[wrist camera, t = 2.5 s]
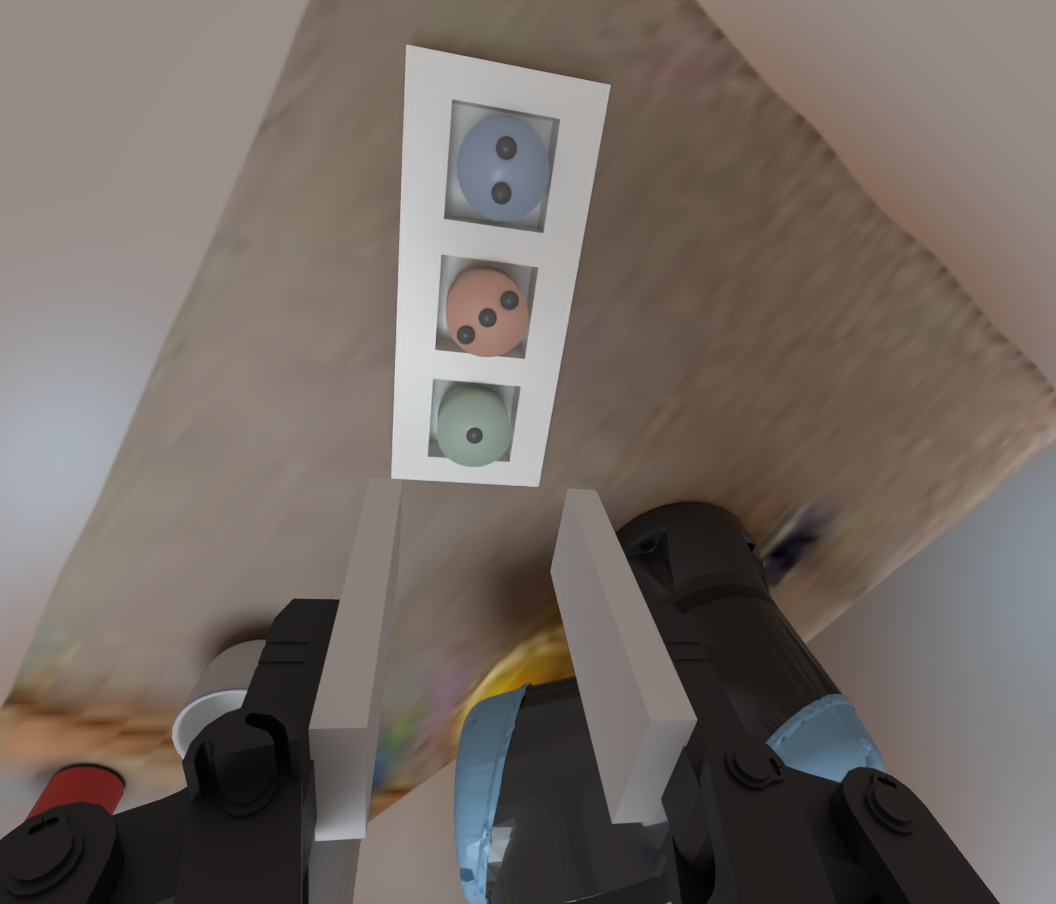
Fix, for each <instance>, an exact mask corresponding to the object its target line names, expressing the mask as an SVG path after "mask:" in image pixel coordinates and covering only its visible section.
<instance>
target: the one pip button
mask: <svg viewBox="0 0 1056 904" xmlns="http://www.w3.org/2000/svg"><path fill="white" fill-rule="evenodd" d="M437 440H438V444H439V447H440V449H441V450H442V452H443V453H444V454H445V456H446V457H447V458H449V459H450V460H451V461H453V462H455V463H457V464H459V465H462V466H466V467H481V466H485V465H488V464H490V463H493V462H494V461H496V460H497V459H499V458H500V457H501V456H502V455H503V454H504V453H505V451H506V450H507V448H508V446H509V443H510V440H511V427H510V423H509V418H508V414H507V409H506V406H505V403H504V401H503V400H502V398H501V397H500V396H499V395H498V394H497V393H496V392H495V391H494V390H492V389H490V388H488V387H486V386H483V385H478V384H467V385H462V386H460V387H457V388H455V389H453V390H452V391H450V392H449V393H448V394H447V395H446V396H445V397H444V398H443V400H442V402H441V404H440V406H439V409H438V420H437Z"/></svg>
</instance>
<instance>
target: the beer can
mask: <svg viewBox="0 0 1056 904" xmlns="http://www.w3.org/2000/svg"><path fill="white" fill-rule="evenodd" d="M122 795H123V784H122V782H121V780H120V779H119V778H118V777H117V776H116V775H115V774H113V773H112V772H110V771H108V770H105V769H102V768H98V767H92V766H80V767H72V768H69V769H66V770H63V771H61V772H59V773H58V774H57V775H55V776H54V777H53V778H52V779H51V780H50V782H49V783H48V785H47V786H46V788H45V790H44V791H43V793H42V794H41V796H40V797H39V799H38V801H37V802H36V804H35V805H34V807H33V808H32V810H31V812H30V813H29V815H28V816H27V818H26V819H25V821H26V820H28V819H29V818H31V817H33V816H35V815H37V814H40V813H42V812H44V811H46V810H48V809H51V808H53V807H55V806H58V805H64V804H69V803H75V802H80V801H83V802H88V803H93V804H98V805H102V806H103V807H104V808H105V809H106V810H107V811H108V812H109V813H110V814H111V815H113V813H114V811H115V809H116V807H117V805H118V803H119V801H120V799H121V797H122ZM25 821H24V822H25Z"/></svg>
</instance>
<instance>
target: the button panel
mask: <svg viewBox="0 0 1056 904" xmlns="http://www.w3.org/2000/svg"><path fill="white" fill-rule="evenodd" d="M610 87H611V85H608V84H603V83H598V82H593V81H588V80H583V79H578V78H573V77H568V76H563V75H558V74H553V73H548V72H543V71H538V70H533V69H528V68H523V67H517V66H512V65H507V64H502V63H497V62H492V61H487V60H482V59H477V58H472V57H467V56H462V55H457V54H452V53H447V52H442V51H437V50H432V49H427V48H421V47H416V46H411V45H406V66H405V95H404V124H403V153H402V183H401V212H400V241H399V270H398V299H397V328H396V357H395V386H394V415H393V444H392V474H391V478H394V479H411V480H428V481H446V482H463V483H481V484H498V485H516V486H533V487H539V481H540V476H541V470H542V465H543V459H544V454H545V448H546V442H547V437H548V431H549V426H550V420H551V415H552V409H553V404H554V398H555V392H556V387H557V381H558V376H559V370H560V365H561V359H562V354H563V348H564V342H565V337H566V331H567V326H568V320H569V315H570V309H571V304H572V298H573V292H574V287H575V281H576V276H577V270H578V265H579V259H580V254H581V248H582V242H583V237H584V231H585V226H586V220H587V215H588V209H589V204H590V198H591V192H592V187H593V181H594V176H595V170H596V165H597V159H598V154H599V148H600V142H601V137H602V131H603V126H604V120H605V115H606V109H607V104H608V98H609V92H610ZM496 117H508V118H513V119H516V120H519V121H521V122H523V123H525V124H526V125H528V126H529V127H530V128H531V129H533V131H534V132H535V133H536V134H537V135H538V136H539V138H540V139H541V141H542V143H543V145H544V147H545V149H546V152H547V156H548V160H549V180H548V185H547V188H546V191H545V193H544V195H543V197H542V199H541V200H540V202H539V203H538V205H537V206H536V207H535V208H534V209H533V210H532V211H531V212H529V213H528V214H527V215H525V216H523V217H521V218H518V219H516V220H511V221H497V220H493V219H490V218H487V217H485V216H483V215H481V214H480V213H479V212H477V211H476V210H475V209H474V208H473V207H472V206H471V205H470V204H469V202H468V201H467V200H466V198H465V196H464V194H463V192H462V190H461V188H460V185H459V182H458V177H457V170H456V168H457V156H458V153H459V149H460V147H461V145H462V143H463V141H464V139H465V138H466V137H467V135H468V134H469V133H470V132H471V131H472V130H473V129H474V128H475V127H476V126H477V125H479V124H480V123H482V122H484V121H486V120H489V119H492V118H496ZM479 266H489V267H494V268H497V269H500V270H501V271H503V272H505V273H506V274H508V275H509V276H510V277H511V278H512V279H513V280H514V281H515V283H516V284H517V286H518V288H519V290H520V292H521V293H522V295H523V297H524V299H525V302H526V305H527V309H528V324H527V328H526V331H525V333H524V335H523V337H522V339H521V340H520V342H519V343H518V344H517V345H516V346H515V347H514V348H513V349H511V350H510V351H508V352H506V353H504V354H502V355H499V356H495V357H480V356H476V355H472V354H470V353H468V352H466V351H465V350H463V349H462V348H461V347H459V346H458V345H457V344H456V342H455V341H454V340H453V338H452V337H451V335H450V333H449V330H448V327H447V323H446V299H447V294H448V291H449V289H450V286H451V285H452V283H453V282H454V280H455V279H456V278H457V277H458V276H459V275H460V274H462V273H463V272H465V271H467V270H468V269H471V268H474V267H479ZM467 384H478V385H483V386H486V387H488V388H490V389H492V390H494V391H495V392H496V393H497V394H498V395H499V396H500V397H501V398H502V400H503V401H504V403H505V406H506V409H507V414H508V418H509V423H510V427H511V440H510V443H509V446H508V448H507V450H506V451H505V453H504V454H503V455H502V456H501V457H500V458H499V459H497V460H496V461H494V462H493V463H490V464H488V465H485V466H481V467H466V466H462V465H459V464H457V463H455V462H453V461H451V460H450V459H449V458H447V457H446V456H445V454H444V453H443V452H442V450H441V449H440V447H439V444H438V440H437V420H438V409H439V406H440V404H441V402H442V400H443V398H444V397H445V396H446V395H447V394H448V393H449V392H450V391H452V390H453V389H455V388H457V387H460V386H462V385H467Z"/></svg>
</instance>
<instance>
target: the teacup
mask: <svg viewBox="0 0 1056 904" xmlns="http://www.w3.org/2000/svg"><path fill="white" fill-rule="evenodd" d="M265 644H266V640H252V641H247V642H243V643H240V644H237V645H235V646H232V647H231V648H229V649H227V650H225V651H224V652H222V653H221V654H220V655H218V656H217V657H216V658H215V659H214V660H213V661H212V662H211V663H210V664H209V666H208V667H207V668H206V670H205V671H204V673H203V674H202V676H201V677H200V679H199V681H198V682H197V684H196V686H195V688H194V690H193V691H192V693H191V695H190V697H189V699H188V701H187V703H186V704H185V706H184V708H183V709H182V710H181V712H180V713H179V714H178V716H177V717H176V720H175V722H174V725H173V730H172V740H173V743H174V746H175V748H176V750H177V752H178V753H179V754H180V756H181V757H182V759H184V757H185V754H186V752H187V750H188V747H189V745H190V743H191V742H192V741H193V739H194V738H195V737H196V736H197V735H198V734H199V733H200V732H201V731H202V729H203V728H204V727H205V726H206V725H208V724H209V723H211V722H212V721H214V720H215V719H217V718H218V717H220V716H222V715H223V714H225V713H226V712H230V711H233V710H236V709H239V708H241V706H242V703H243V701H244V698H245V695H246V693H247V690H248V687H249V685H250V682H251V679H252V677H253V674H254V671H255V669H256V667H257V666H258V661H259V658H260V655H261V653H262V650H263V648H264V647H265Z"/></svg>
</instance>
